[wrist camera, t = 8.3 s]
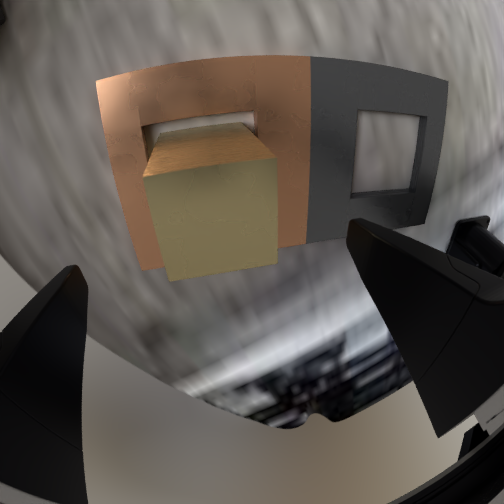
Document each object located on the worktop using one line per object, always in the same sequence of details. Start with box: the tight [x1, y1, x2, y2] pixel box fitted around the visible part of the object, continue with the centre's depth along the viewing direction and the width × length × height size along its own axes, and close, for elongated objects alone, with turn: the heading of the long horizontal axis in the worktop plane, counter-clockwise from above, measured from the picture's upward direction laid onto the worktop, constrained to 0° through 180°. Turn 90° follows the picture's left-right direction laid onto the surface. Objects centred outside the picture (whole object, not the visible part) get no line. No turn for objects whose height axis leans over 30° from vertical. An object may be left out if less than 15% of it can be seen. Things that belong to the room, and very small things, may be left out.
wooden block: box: [142, 122, 278, 282], centre depth 13 cm, size 4×4×7 cm
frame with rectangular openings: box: [96, 55, 448, 271], centre depth 16 cm, size 22×12×1 cm, turn 92°
